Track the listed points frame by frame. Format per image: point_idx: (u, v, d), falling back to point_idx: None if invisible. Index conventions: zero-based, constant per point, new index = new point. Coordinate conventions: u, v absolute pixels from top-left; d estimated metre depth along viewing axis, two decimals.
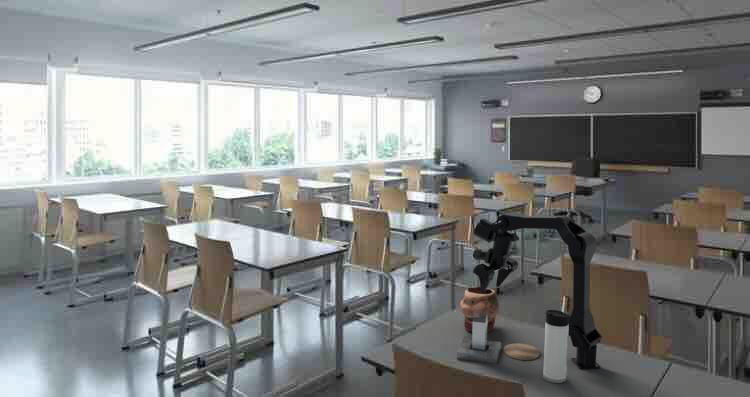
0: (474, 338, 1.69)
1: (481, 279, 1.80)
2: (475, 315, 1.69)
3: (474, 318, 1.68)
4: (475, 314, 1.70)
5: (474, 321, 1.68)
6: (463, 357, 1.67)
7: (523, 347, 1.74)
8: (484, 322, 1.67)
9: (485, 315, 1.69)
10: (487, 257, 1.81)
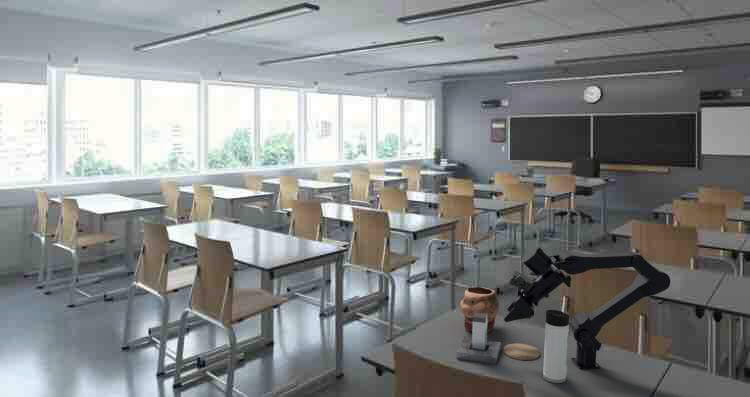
0: (473, 338, 1.69)
1: (514, 310, 1.59)
2: (475, 315, 1.69)
3: (474, 318, 1.68)
4: (475, 314, 1.70)
5: (474, 321, 1.68)
6: (463, 357, 1.67)
7: (523, 347, 1.74)
8: (484, 322, 1.67)
9: (485, 315, 1.69)
10: (528, 289, 1.60)
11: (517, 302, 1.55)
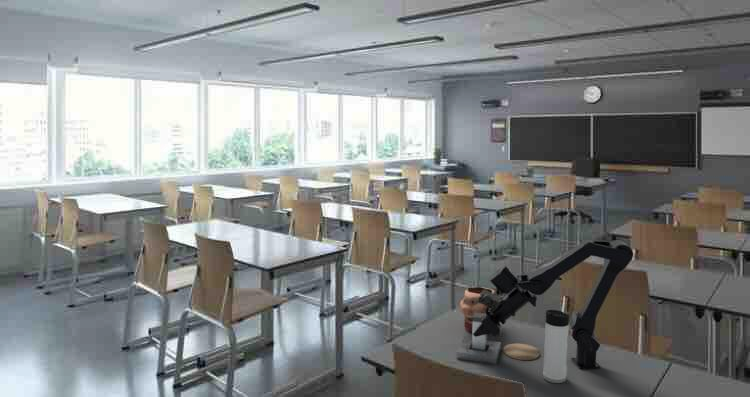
0: (473, 338, 1.69)
1: (483, 326, 1.66)
2: (475, 315, 1.69)
3: (474, 318, 1.68)
4: (475, 314, 1.70)
5: (474, 321, 1.68)
6: (463, 357, 1.67)
7: (523, 347, 1.74)
8: None
9: None
10: (495, 307, 1.64)
11: (483, 321, 1.59)
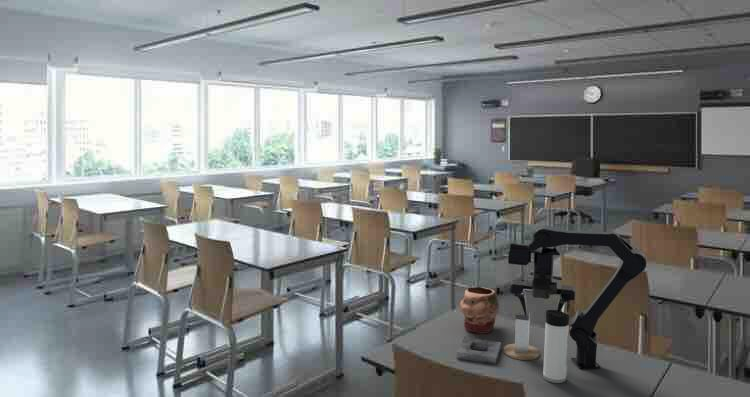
0: (516, 335, 1.69)
1: None
2: (518, 312, 1.70)
3: (517, 316, 1.68)
4: (517, 312, 1.70)
5: (517, 319, 1.68)
6: (463, 357, 1.67)
7: None
8: (527, 320, 1.67)
9: (528, 313, 1.69)
10: None
11: (574, 297, 1.59)
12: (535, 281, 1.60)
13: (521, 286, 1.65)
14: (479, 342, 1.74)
